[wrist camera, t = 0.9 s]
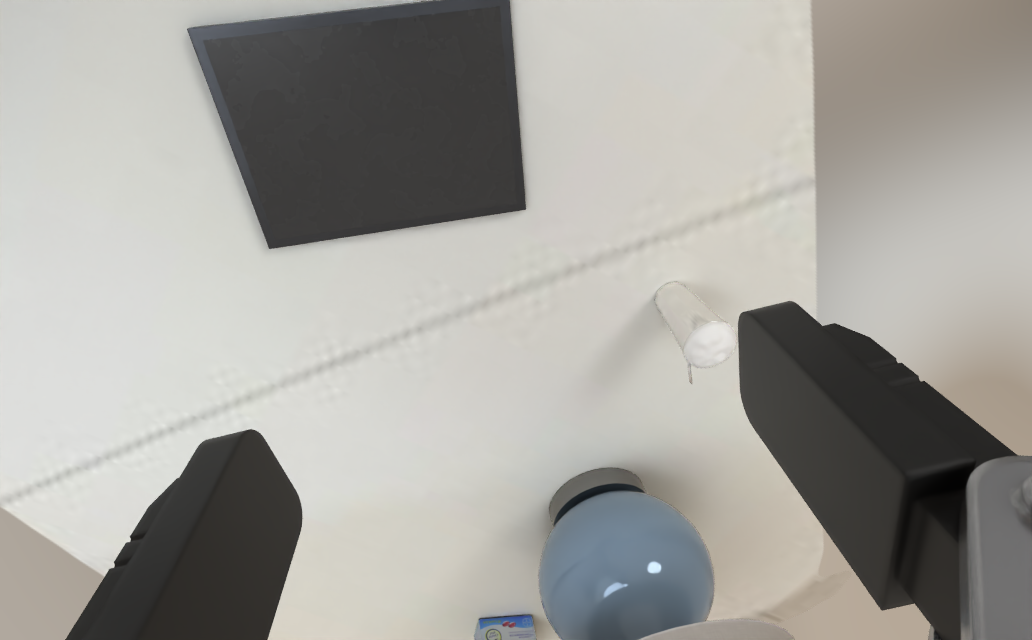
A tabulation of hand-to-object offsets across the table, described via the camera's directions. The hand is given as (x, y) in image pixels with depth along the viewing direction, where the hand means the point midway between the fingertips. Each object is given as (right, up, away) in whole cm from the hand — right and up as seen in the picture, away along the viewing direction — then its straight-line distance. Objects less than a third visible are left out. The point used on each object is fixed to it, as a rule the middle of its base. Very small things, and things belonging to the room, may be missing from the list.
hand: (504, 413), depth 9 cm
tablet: (-10, +15, +30) cm, 35 cm away
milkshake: (+15, +4, +44) cm, 46 cm away
